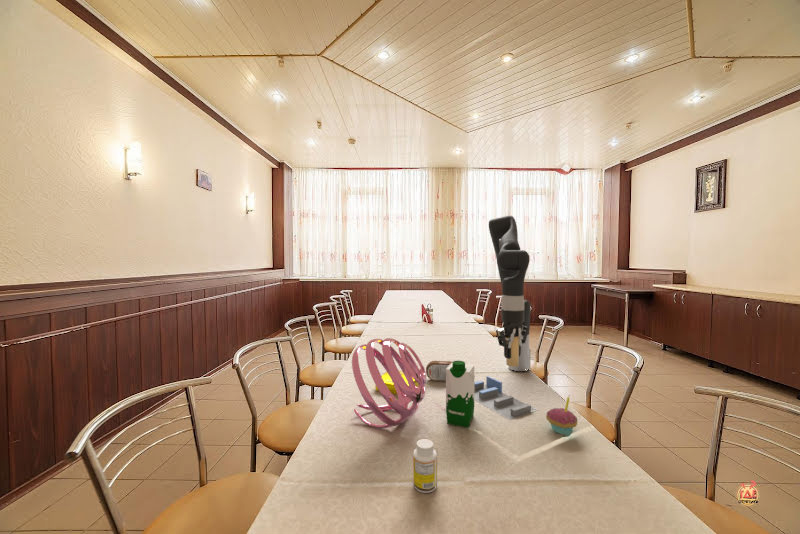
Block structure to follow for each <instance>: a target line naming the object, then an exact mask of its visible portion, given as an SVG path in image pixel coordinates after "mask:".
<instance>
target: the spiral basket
mask: <svg viewBox="0 0 800 534" xmlns="http://www.w3.org/2000/svg"><path fill="white" fill-rule="evenodd" d="M375 343H377V344H379V345H381V349H382V352H380V351H379V350H378V349H377V348H376V347H374V345H375ZM391 343H393V344H395V345H396V347H398V351H399V353H398V352H397V350H395V349H394V347H393V346H392V345H391ZM407 349H408V350H407ZM360 350H363V351H365V359H366V364H367V368H368V370H369V373H370V375H371V377H372V381H373V382H374V384H376V386H377V388H378V390H379V391H378V392H379V393H380V395H381V396H382V398H383V399H384V400H385V401H386V403H387V404H384V405H378V404H377V402H376V401H375V399H374V398H373V397H372V395H371V393H370V392H369V390H368V387H367V385H366V383H365V380H364V378H363V375H362V373H361V372H362V371H361V368H360V362H359V353H360ZM411 354H412V355H413V356H412V355H411ZM413 357H414V358H415V359H414V358H413ZM375 358H376V359H375ZM376 360H377V361H378V362H379V363H380V364H381V366H382V367H383V368H384V370H385V372H387V373H388V374H389V376H390V378H391V380H392V382H393V384H394V386H395V389H396V391H397V394H398V395H397V398H398V399H396V397H395V396H394V394H392V393H391V392H390V390H389V389H388V387H387V386H386V384H385V382H384V380H383V379H382V377H381V376H382V375H381V373H380V370H379V368H378V365H377V362H376ZM415 360H416V361H417V362H416V361H415ZM395 361H396V363H397V365H398V366H399V368H400V370H401V371H402V372H403V373H404V375H405V377H406V380H407V382H408V384H409V385H408V384H407V383H406V382H405V380H404V379H403V377H402V376H401V374H400V372H399V371H400V370H399V368H398V367H397V365H396V363H395ZM351 369H352V372H353V373H352V374H353V377H354V381H355V383H356V387H357V389H358V390H359V393H360V395H361V396H362V398H363V400H364V402H365V403H366V405H363V404H359V403H358V404H357V405H356V406H357V407H359V408H362V409H364V410H367V411H371V412H372V413H373V414H374V415H375V417H377V419H379V420H380V421H381V422H382V423H385V424H377V423H376V424H375V423H373V422H370V421H369V420H367V419H365V418H364V417H363V416H362V415H361V414H360V413H359V411H358V410H357V409H356V408H354V409H353V412H354V413H355V415H356V417H357V418H358V419H359V420H361V422H363V424H366V425H367V426H369V427H372V428H376V429H388V428H393V427H397V426H400V425H401V424H403V423H404V422H405V421H406V420H407V419H409V418H411V417H412V416H413V415H415V414H416V412H417V411H418V409H419V404H420V403H421V402H422V401H423V400H424V399H425V395H426V384H427V374H426V368H425V367H424V365H423V363H422V360H421V359H420V357H419V356H418V355H417V353H416V352H415V351H414V349H413V348H412V347H411V346H410V345H408V344H407V343H404V342H400V341H399V340H397V339H395V338H391V337H387V338H384V339H381V338H373V339H371V340H369V341H368V342H367V343H365V344H364V343H363V344H361V345H359V346H358V347H356V348H355V349H354V351H353V353H352V356H351ZM412 377H413V378H412ZM413 379H414V380H415V381H416V382H417V383H418V384H419V385H418V387H416V386H415V383H414V381H413ZM411 402H412V404H411V406H409V408H408V405H409V403H411ZM391 410H392V411H395V412H396V413H397V414H398V415H400V416H399V418H398V419H392V418H391V417H390V416H388V415H387V414H386V413H385V412H386V411H391Z"/></svg>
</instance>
